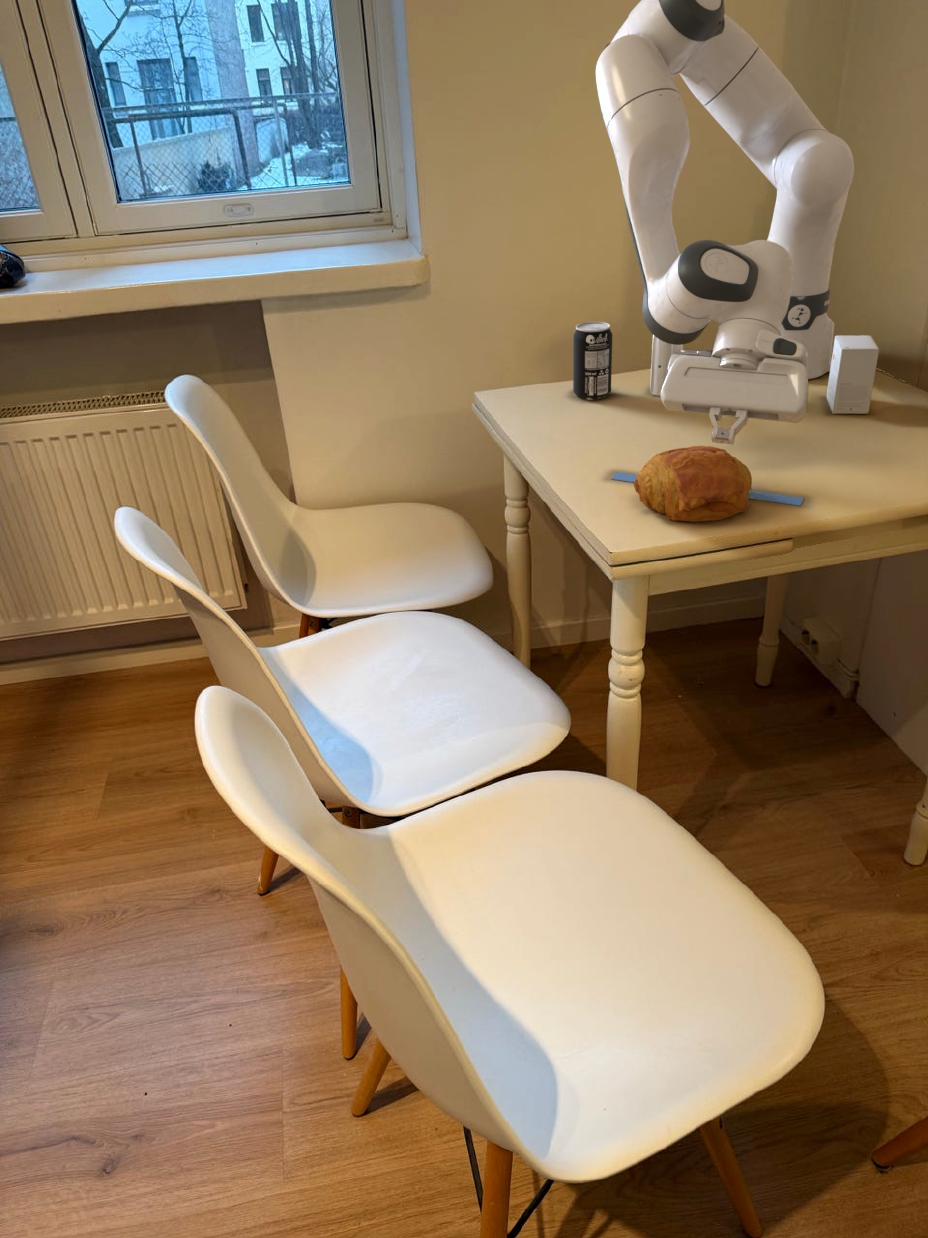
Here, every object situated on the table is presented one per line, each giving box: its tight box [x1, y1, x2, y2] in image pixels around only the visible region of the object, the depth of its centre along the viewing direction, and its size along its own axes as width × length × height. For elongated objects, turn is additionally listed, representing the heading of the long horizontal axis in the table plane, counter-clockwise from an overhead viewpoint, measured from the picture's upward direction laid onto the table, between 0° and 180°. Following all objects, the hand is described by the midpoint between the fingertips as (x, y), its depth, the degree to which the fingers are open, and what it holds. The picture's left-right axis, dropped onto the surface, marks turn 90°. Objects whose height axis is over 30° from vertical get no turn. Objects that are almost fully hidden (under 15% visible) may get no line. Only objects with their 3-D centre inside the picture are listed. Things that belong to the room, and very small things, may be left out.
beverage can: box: [572, 321, 613, 401], centre depth 162 cm, size 7×7×12 cm
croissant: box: [633, 445, 753, 523], centre depth 124 cm, size 14×16×8 cm
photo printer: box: [649, 334, 684, 397], centre depth 163 cm, size 10×4×12 cm, turn 158°
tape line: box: [611, 472, 805, 507], centre depth 129 cm, size 2×26×1 cm, turn 63°
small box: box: [825, 334, 880, 415], centre depth 150 cm, size 8×6×10 cm
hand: (722, 442), depth 132 cm, fingers closed
